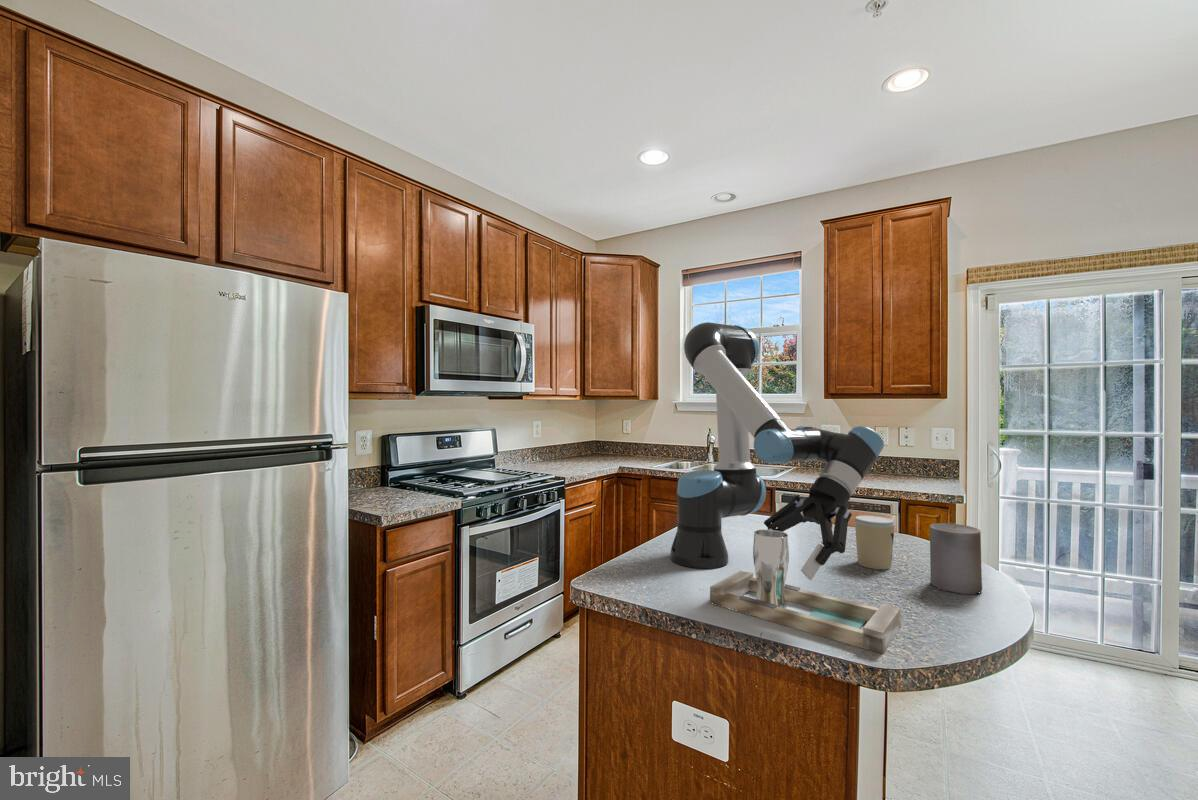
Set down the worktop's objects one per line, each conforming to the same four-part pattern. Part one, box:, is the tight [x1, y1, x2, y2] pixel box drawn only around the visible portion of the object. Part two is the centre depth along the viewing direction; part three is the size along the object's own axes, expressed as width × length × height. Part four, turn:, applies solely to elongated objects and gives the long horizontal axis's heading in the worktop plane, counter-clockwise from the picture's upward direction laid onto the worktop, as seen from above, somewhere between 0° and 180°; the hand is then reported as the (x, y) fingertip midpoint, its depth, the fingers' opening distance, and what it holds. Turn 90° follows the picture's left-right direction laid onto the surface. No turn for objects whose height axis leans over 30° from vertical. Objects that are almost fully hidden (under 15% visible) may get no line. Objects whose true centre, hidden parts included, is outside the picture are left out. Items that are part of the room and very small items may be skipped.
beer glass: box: [752, 529, 790, 609], centre depth 103 cm, size 7×7×15 cm
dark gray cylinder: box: [929, 521, 983, 595], centre depth 116 cm, size 10×10×15 cm
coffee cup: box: [854, 515, 896, 570], centre depth 132 cm, size 9×9×12 cm
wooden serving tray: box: [709, 570, 902, 655], centre depth 99 cm, size 32×14×4 cm, turn 49°
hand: (780, 565), depth 103 cm, fingers open, 13 cm apart
